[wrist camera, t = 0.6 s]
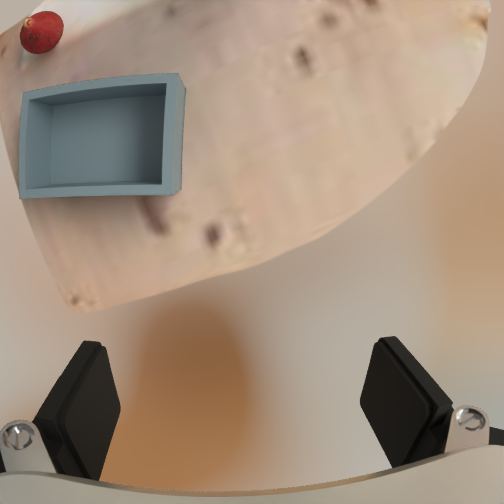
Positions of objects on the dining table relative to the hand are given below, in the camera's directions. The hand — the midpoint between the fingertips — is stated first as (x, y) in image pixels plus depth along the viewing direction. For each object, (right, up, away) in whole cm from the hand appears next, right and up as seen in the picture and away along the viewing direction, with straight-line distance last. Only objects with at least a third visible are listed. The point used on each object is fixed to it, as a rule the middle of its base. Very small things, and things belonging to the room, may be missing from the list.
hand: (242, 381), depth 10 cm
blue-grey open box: (-17, +18, +24) cm, 34 cm away
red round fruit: (-26, +32, +19) cm, 46 cm away
